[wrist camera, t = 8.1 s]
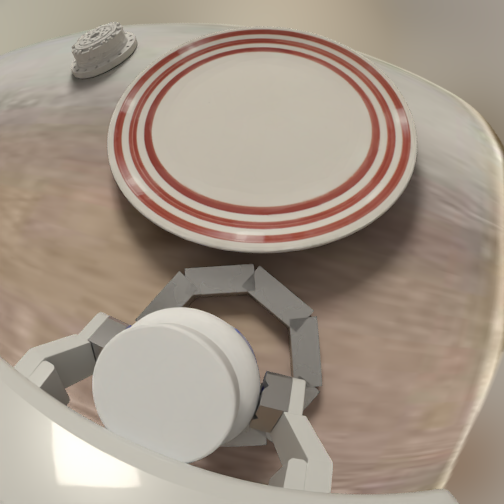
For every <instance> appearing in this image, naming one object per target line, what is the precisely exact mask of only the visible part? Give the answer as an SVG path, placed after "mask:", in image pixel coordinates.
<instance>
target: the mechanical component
mask: <svg viewBox="0 0 504 504" xmlns="http://www.w3.org/2000/svg"><path fill="white" fill-rule="evenodd" d="M136 47H137V40H136V36H135V35H134V34H133V33H131V32H124V30H123V27H122V26H121V25H120V23H117V22H114V23H113V22H111V23H109V24H106V25H100V26H99V27H97V28H95V29H93V30H91V31H88V32H87V33H86V34H84V35H82V37H81V38H79V39H78V41H77V43H76V44H74V45H73V46H72V48H73V49H72V53H73V55H74V57H75V59H74V60H73V62H72V64H71V70H72V72H73V74H74V76H75V77H77V78H81V79H84V78H90V77H94V76H97V75H99V74H102V73H104V72H106V71H108V70H110V69H112V68H113V67H115V66H117V65H118V64H120V63H121V62H123V61H124V60H125V59H126V58H128V57H129V56H130V55H131V54H132V53H133V52H134V50H135V49H136Z"/></svg>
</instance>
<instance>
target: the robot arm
mask: <svg viewBox="0 0 504 504" xmlns="http://www.w3.org/2000/svg"><path fill="white" fill-rule="evenodd" d="M130 327H131V325H129V324H126V323H124V322H122V321H120V320H118V319H116V318H113V317H111V316H109V315H107V314H105V313H103V312H100V313H98V314H97V315H96V316H95V317H94V318H93V319H92V320H91V321H90V322H89V323H88V324H87V325H86V327H85V328H84V329H83V330H82V331H81V332H80V333H79V334H78V335H76V334H74V335H70V336H67V337H64V338H61V339H58V340H55V341H52V342H49V343H46V344H43V345H40V346H37V347H33V348H30V350H29V351H28V352H27V353H26V354H25V355H24V356H23V357H22V358H21V359H20V360H19V362H18V363H17V364H16V365H15V366H14V367H12V366H11V365H10V364H9V363H8V362H6V361H5V360H4V359H3V358H2V357H1V356H0V504H459V502H458V501H457V500H456V499H455V498H454V496H453V495H452V494H451V493H450V492H449V491H448V490H446V489H435V490H428V491H419V492H409V493H394V494H338V493H330V492H331V481H332V469H333V462H332V460H331V459H330V457H329V455H328V454H327V452H326V450H325V448H324V447H323V445H322V443H321V442H320V440H319V438H318V436H317V435H316V433H315V431H314V429H313V428H312V426H311V424H310V422H309V420H308V419H307V417H306V416H303V406H304V397H305V386H306V382H305V380H302V379H297V378H293V377H290V376H285V375H281V374H277V373H273V372H269V371H267V372H266V374H265V376H264V379H263V383H261V386H260V396H259V401H258V405H257V408H256V411H255V413H254V415H253V417H252V419H251V422H250V426H249V427H250V428H253V429H257V430H261V431H264V432H268V433H270V436H271V438H272V441H273V443H274V446H275V448H276V451H277V454H278V456H279V459H280V461H281V464H282V466H283V467H281V468H280V469H279V470H278V471H277V472H276V473H275V474H274V475H273V476H272V477H271V478H270V480H269V485H265V484H260V483H255V482H250V481H246V480H242V479H238V478H233V477H230V476H226V475H222V474H218V473H215V472H212V471H208V470H205V469H202V468H198V467H195V466H192V465H189V464H186V463H184V462H181V461H178V460H175V459H173V458H170V457H167V456H165V455H162V454H160V453H157V452H155V451H152V450H150V449H148V448H145V447H143V446H141V445H138V444H136V443H134V442H132V441H130V440H128V439H125V438H123V437H121V436H119V435H117V434H115V433H113V432H111V431H109V430H107V429H106V428H104V427H102V426H100V425H98V424H96V423H95V422H93V421H91V420H89V419H87V418H86V417H84V416H82V415H81V414H79V413H77V412H76V411H74V410H72V409H71V408H69V407H68V406H67V404H68V403H69V401H70V399H69V396H68V394H67V392H66V390H65V388H67V387H69V386H71V385H73V384H75V383H77V382H79V381H81V380H83V379H85V378H87V377H89V376H91V375H93V372H94V367H95V365H96V361H97V359H98V357H99V355H100V353H101V351H102V350H103V348H104V347H105V345H106V344H107V343H108V342H109V341H110V340H111V339H112V338H113V337H115V336H116V335H117V334H119V333H120V332H122V331H123V330H125V329H128V328H130Z"/></svg>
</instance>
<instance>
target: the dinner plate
mask: <svg viewBox="0 0 504 504" xmlns="http://www.w3.org/2000/svg"><path fill="white" fill-rule="evenodd" d="M107 152H108V160H109V164H110V168H111V171H112V174H113V176H114V179H115V181H116V183H117V185H118V187H119V188H120V190H121V191H122V193H123V194H124V196H125V197H126V198H127V200H128V201H129V202H130V203H131V204H132V205H133V206H134V207H135V208H136V209H137V210H138V211H139V212H140V213H141V214H142V215H143V216H145V217H146V218H147V219H149V220H150V221H151V222H153V223H154V224H156V225H157V226H159V227H161V228H162V229H164V230H166V231H168V232H170V233H172V234H174V235H176V236H179V237H181V238H183V239H185V240H188V241H191V242H194V243H197V244H201V245H204V246H207V247H212V248H216V249H221V250H226V251H234V252H245V253H280V252H290V251H298V250H304V249H309V248H314V247H318V246H322V245H325V244H328V243H331V242H334V241H337V240H340V239H342V238H344V237H347V236H349V235H351V234H353V233H355V232H357V231H359V230H361V229H363V228H364V227H366V226H368V225H369V224H371V223H372V222H374V221H375V220H376V219H378V218H379V217H380V216H381V215H383V214H384V213H385V212H386V211H387V210H388V209H389V208H390V207H391V206H392V205H393V204H394V203H395V202H396V201H397V200H398V198H399V197H400V195H401V194H402V193H403V191H404V190H405V188H406V187H407V185H408V183H409V181H410V179H411V177H412V174H413V171H414V168H415V163H416V159H417V133H416V127H415V123H414V120H413V116H412V114H411V111H410V109H409V107H408V105H407V103H406V101H405V99H404V97H403V96H402V94H401V92H400V91H399V89H398V88H397V87H396V85H395V84H394V83H393V82H392V81H391V79H390V78H389V77H388V76H387V75H386V74H385V73H384V72H383V71H382V70H381V69H380V68H379V67H377V66H376V65H375V64H374V63H373V62H371V61H370V60H369V59H367V58H366V57H365V56H363V55H361V54H360V53H358V52H357V51H355V50H353V49H351V48H349V47H347V46H345V45H343V44H341V43H339V42H337V41H334V40H331V39H329V38H327V37H324V36H320V35H317V34H314V33H310V32H306V31H301V30H296V29H290V28H281V27H245V28H236V29H229V30H224V31H219V32H215V33H211V34H207V35H204V36H201V37H198V38H196V39H193V40H191V41H188V42H186V43H184V44H182V45H180V46H178V47H176V48H174V49H172V50H170V51H168V52H167V53H165V54H164V55H162V56H161V57H159V58H158V59H156V60H155V61H154V62H152V63H151V64H150V65H149V66H148V67H146V68H145V69H144V70H143V71H142V72H141V73H140V74H139V75H138V76H137V77H136V78H135V79H134V80H133V81H132V83H131V84H130V85H129V86H128V88H127V89H126V90H125V92H124V93H123V95H122V97H121V98H120V100H119V102H118V104H117V106H116V108H115V110H114V113H113V115H112V118H111V121H110V125H109V130H108V138H107Z"/></svg>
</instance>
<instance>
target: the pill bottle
mask: <svg viewBox="0 0 504 504" xmlns="http://www.w3.org/2000/svg"><path fill="white" fill-rule="evenodd" d="M92 390H93V398H94V403H95V406H96V409H97V412H98V415H99V417H100V419H101V421H102V423H103V424H104V426H105V428H106V429H107V430H109V431H111V432H113V433H115V434H117V435H119V436H121V437H123V438H125V439H128V440H130V441H132V442H134V443H136V444H138V445H141V446H143V447H145V448H148V449H150V450H152V451H155V452H157V453H160V454H162V455H165V456H167V457H170V458H173V459H175V460H178V461H181V462H184V463H186V464H189V463H192V462H195V461H198V460H200V459H202V458H204V457H206V456H208V455H209V454H211V453H213V452H214V451H215V450H216V449H217V448H218V447H220V446H222V445H224V444H226V443H228V442H229V441H231V440H232V439H233V438H235V437H236V436H237V435H238V434H240V433H241V432H242V431H243V430H244V429H245V427H246V426H247V425H248V423H249V422H250V420H251V419H252V417H253V415H254V413H255V411H256V408H257V405H258V401H259V396H260V375H259V369H258V365H257V362H256V358H255V354H254V352H253V349H252V347H251V345H250V344H249V342H248V341H247V339H246V338H245V337H244V336H243V335H242V334H241V333H240V332H239V331H238V330H237V329H236V328H234V327H233V326H231V325H229V324H228V323H226V322H225V321H223V320H222V319H220V318H218V317H216V316H214V315H212V314H210V313H207V312H205V311H202V310H198V309H193V308H186V307H175V308H166V309H162V310H158V311H155V312H153V313H150V314H148V315H146V316H144V317H143V318H141V319H140V320H138V321H137V322H136V323H135V324H133V325H132V326H131V327H130V328H128V329H125V330H123V331H122V332H120V333H119V334H117V335H116V336H115V337H113V338H112V339H111V340H110V341H109V342H108V343H107V344H106V345H105V347H104V348H103V350H102V351H101V353H100V355H99V357H98V359H97V361H96V365H95V367H94V372H93V379H92Z"/></svg>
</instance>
